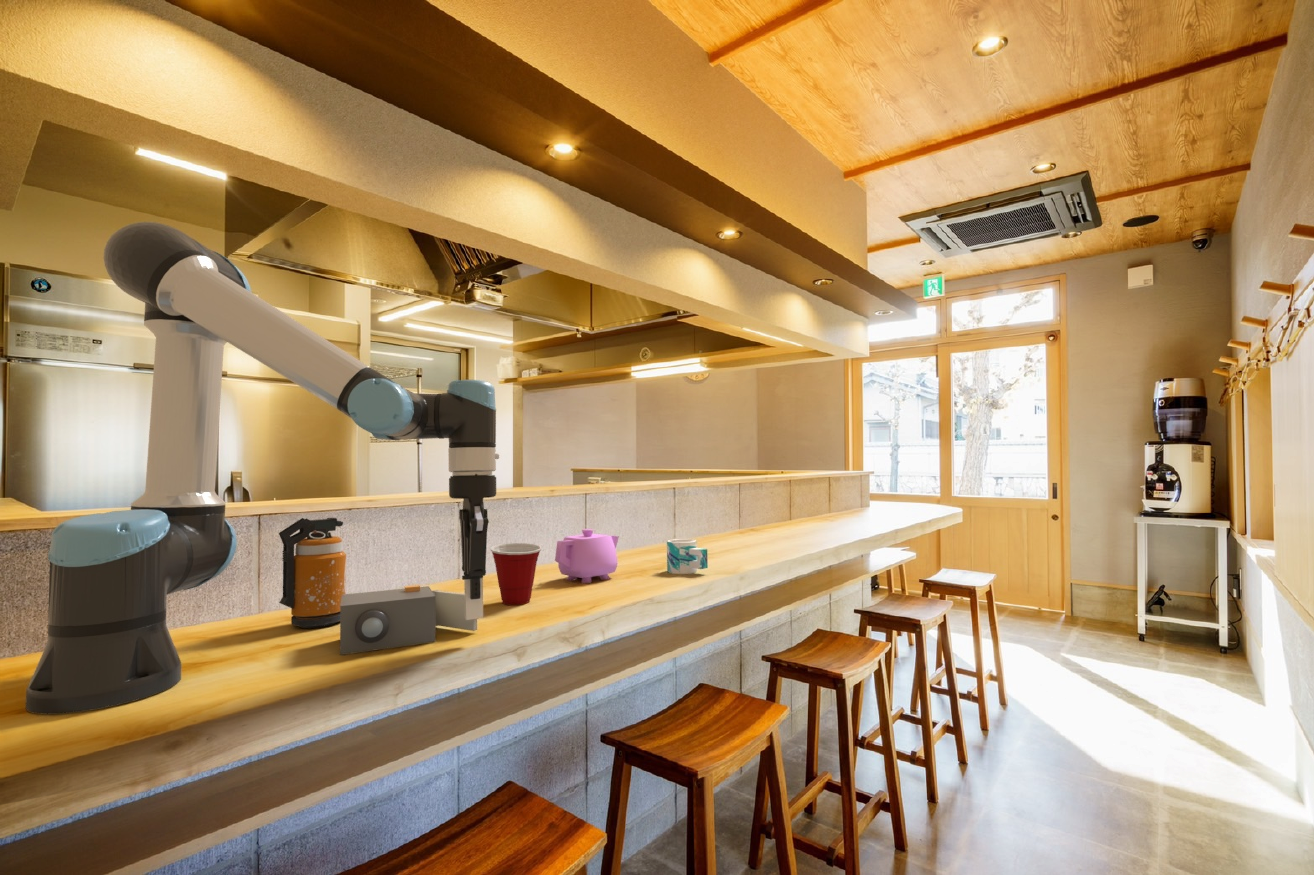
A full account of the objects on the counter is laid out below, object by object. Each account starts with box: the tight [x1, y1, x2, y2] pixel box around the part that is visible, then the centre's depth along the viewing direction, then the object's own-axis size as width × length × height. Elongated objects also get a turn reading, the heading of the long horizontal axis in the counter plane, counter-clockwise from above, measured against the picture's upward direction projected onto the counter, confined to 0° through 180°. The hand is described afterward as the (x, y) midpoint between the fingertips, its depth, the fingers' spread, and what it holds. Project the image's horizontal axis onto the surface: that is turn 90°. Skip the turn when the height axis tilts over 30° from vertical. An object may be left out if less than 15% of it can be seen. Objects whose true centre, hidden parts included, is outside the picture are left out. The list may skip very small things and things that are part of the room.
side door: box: [432, 589, 480, 632], centre depth 109 cm, size 2×11×6 cm, turn 61°
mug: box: [666, 538, 708, 575], centre depth 164 cm, size 8×12×8 cm
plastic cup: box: [489, 542, 543, 606], centre depth 130 cm, size 11×11×12 cm
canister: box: [278, 517, 347, 629], centre depth 115 cm, size 9×11×20 cm
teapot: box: [554, 528, 619, 584], centre depth 157 cm, size 20×12×13 cm, turn 136°
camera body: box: [339, 584, 436, 656], centre depth 102 cm, size 14×12×8 cm
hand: (473, 617), depth 100 cm, fingers closed
